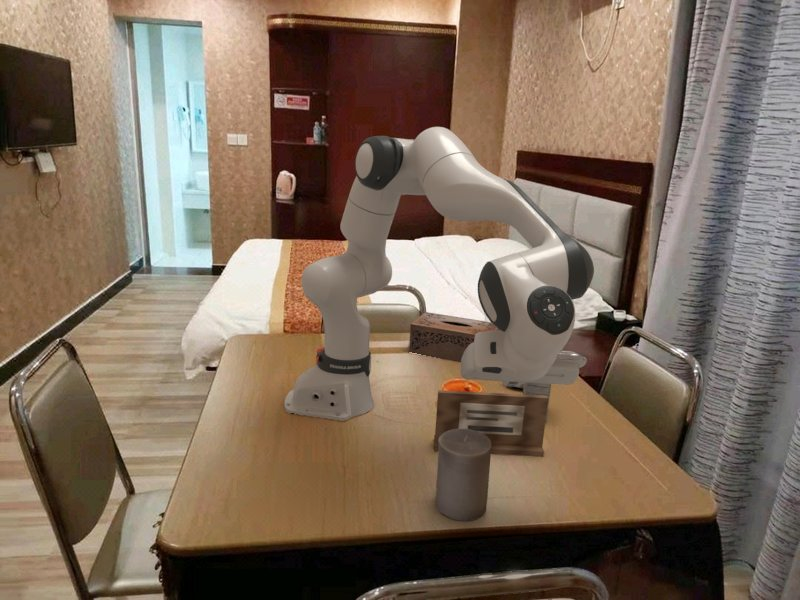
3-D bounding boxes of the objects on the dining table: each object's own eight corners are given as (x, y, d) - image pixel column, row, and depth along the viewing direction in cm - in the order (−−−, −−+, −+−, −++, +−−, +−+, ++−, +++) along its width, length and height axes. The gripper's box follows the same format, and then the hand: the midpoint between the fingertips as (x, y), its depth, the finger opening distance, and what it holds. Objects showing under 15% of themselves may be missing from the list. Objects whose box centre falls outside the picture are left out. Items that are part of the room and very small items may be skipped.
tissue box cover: (498, 352, 189) (501, 323, 187) (488, 368, 176) (491, 337, 174) (423, 339, 198) (425, 311, 195) (409, 353, 185) (410, 323, 182)
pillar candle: (481, 490, 115) (486, 422, 111) (490, 522, 106) (497, 448, 101) (432, 490, 114) (436, 421, 110) (437, 522, 105) (442, 448, 101)
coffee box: (520, 404, 153) (527, 347, 148) (545, 407, 152) (553, 350, 147) (520, 420, 144) (527, 360, 140) (547, 423, 143) (555, 363, 139)
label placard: (434, 450, 128) (438, 396, 125) (434, 439, 133) (437, 386, 130) (543, 456, 128) (550, 401, 125) (538, 444, 133) (545, 391, 129)
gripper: (588, 339, 98) (565, 370, 110) (466, 332, 98) (457, 364, 110) (592, 374, 94) (568, 402, 107) (466, 366, 95) (457, 395, 107)
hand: (511, 382), depth 108 cm, fingers closed
